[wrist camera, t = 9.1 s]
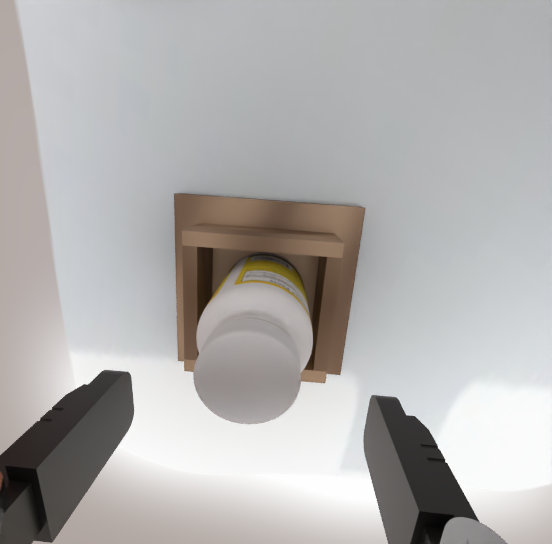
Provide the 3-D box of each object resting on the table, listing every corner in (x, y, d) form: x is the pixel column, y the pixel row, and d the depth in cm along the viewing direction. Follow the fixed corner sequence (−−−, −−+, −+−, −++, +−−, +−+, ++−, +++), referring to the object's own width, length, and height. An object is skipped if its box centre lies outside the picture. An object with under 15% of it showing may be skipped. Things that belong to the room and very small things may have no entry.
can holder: (360, 206, 20) (382, 212, 15) (337, 365, 23) (349, 409, 18) (180, 193, 20) (148, 195, 15) (183, 352, 23) (158, 391, 19)
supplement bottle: (249, 338, 21) (218, 458, 12) (211, 273, 20) (142, 350, 11) (318, 306, 20) (343, 409, 11) (282, 236, 19) (276, 286, 10)
